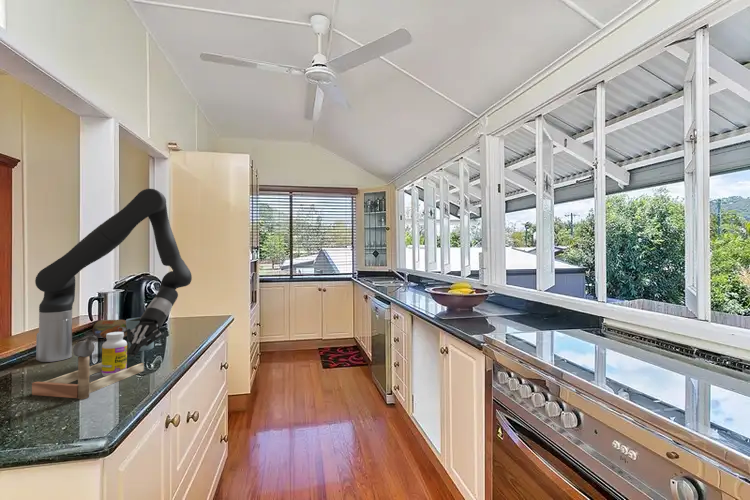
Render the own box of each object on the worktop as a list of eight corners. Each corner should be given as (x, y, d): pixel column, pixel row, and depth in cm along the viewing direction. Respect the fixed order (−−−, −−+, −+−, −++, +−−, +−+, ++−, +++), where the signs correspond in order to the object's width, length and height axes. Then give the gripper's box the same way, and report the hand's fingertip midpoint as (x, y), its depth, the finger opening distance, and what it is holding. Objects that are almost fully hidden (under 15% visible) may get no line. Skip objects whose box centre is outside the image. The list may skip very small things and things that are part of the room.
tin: (91, 339, 170) (92, 320, 170) (97, 337, 173) (97, 318, 173) (126, 339, 170) (126, 320, 170) (130, 337, 173) (131, 319, 173)
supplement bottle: (114, 377, 119) (114, 336, 119) (96, 376, 120) (96, 334, 120) (131, 371, 125) (132, 331, 125) (114, 369, 127) (115, 330, 127)
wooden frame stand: (105, 368, 128) (106, 318, 128) (156, 371, 125) (156, 320, 125) (26, 396, 103) (27, 334, 103) (87, 401, 100) (88, 337, 100)
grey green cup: (156, 349, 152) (156, 319, 152) (125, 353, 147) (126, 321, 147) (153, 344, 161) (154, 315, 161) (125, 347, 155) (125, 318, 155)
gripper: (135, 306, 140) (106, 348, 127) (168, 307, 138) (142, 350, 125) (145, 318, 145) (119, 360, 133) (177, 319, 143) (154, 361, 131)
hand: (130, 355), depth 129 cm, fingers closed
